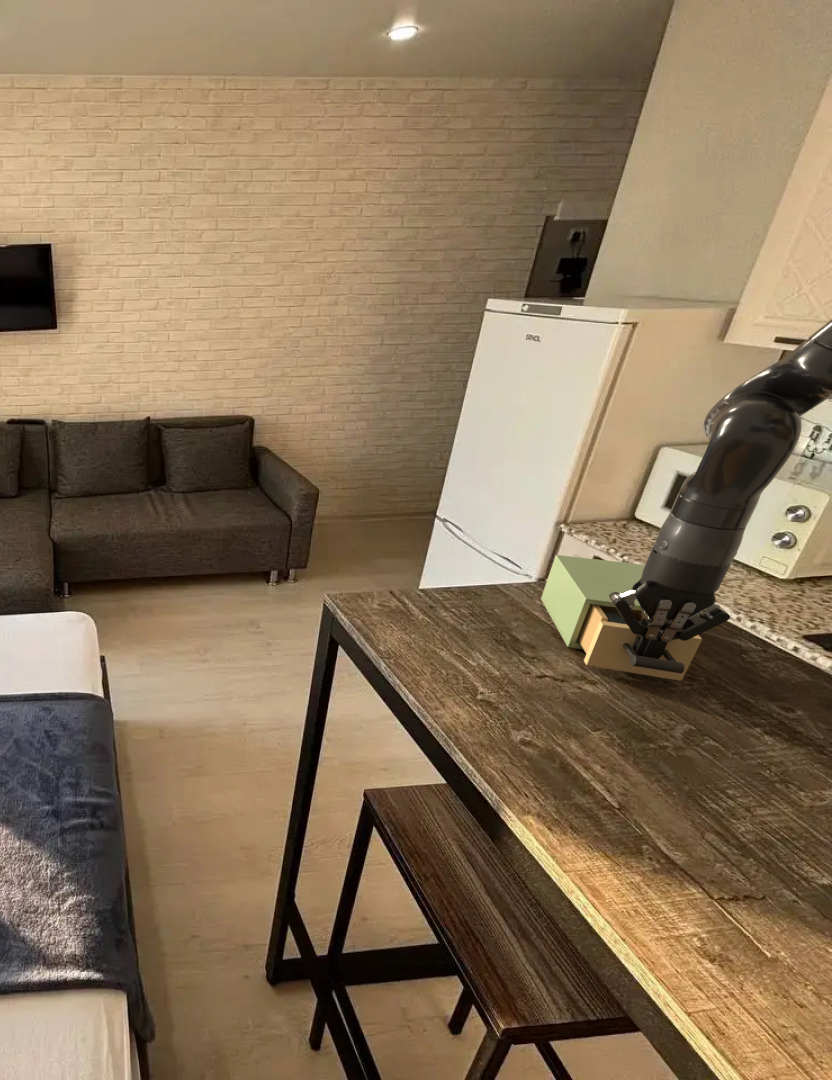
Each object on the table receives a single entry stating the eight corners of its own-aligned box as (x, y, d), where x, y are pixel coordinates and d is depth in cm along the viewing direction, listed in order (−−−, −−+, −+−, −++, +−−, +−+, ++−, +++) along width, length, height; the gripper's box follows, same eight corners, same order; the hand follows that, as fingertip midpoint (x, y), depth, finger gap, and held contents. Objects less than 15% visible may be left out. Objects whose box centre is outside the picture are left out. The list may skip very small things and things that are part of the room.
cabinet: (665, 662, 88) (689, 612, 84) (567, 647, 92) (586, 598, 88) (625, 610, 101) (644, 564, 97) (540, 598, 105) (555, 554, 101)
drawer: (698, 702, 79) (721, 659, 76) (597, 685, 83) (615, 643, 80) (639, 626, 95) (656, 588, 92) (557, 615, 99) (570, 578, 96)
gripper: (741, 544, 76) (688, 651, 83) (619, 532, 80) (579, 635, 88) (777, 570, 70) (716, 684, 77) (642, 556, 74) (597, 664, 81)
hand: (643, 658), depth 82 cm, fingers closed
